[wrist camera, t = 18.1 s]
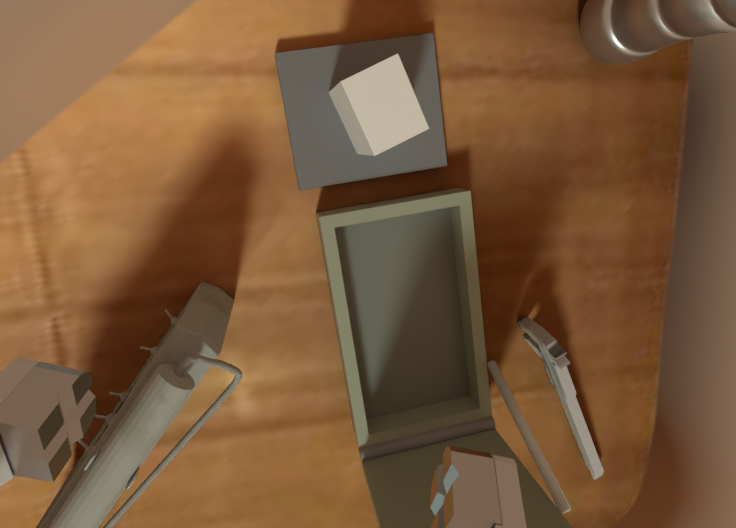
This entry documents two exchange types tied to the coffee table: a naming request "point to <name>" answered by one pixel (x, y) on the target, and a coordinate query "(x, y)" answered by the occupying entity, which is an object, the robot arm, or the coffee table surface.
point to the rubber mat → (324, 126)
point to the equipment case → (419, 352)
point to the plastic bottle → (650, 25)
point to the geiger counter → (146, 414)
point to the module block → (379, 107)
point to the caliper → (563, 388)
